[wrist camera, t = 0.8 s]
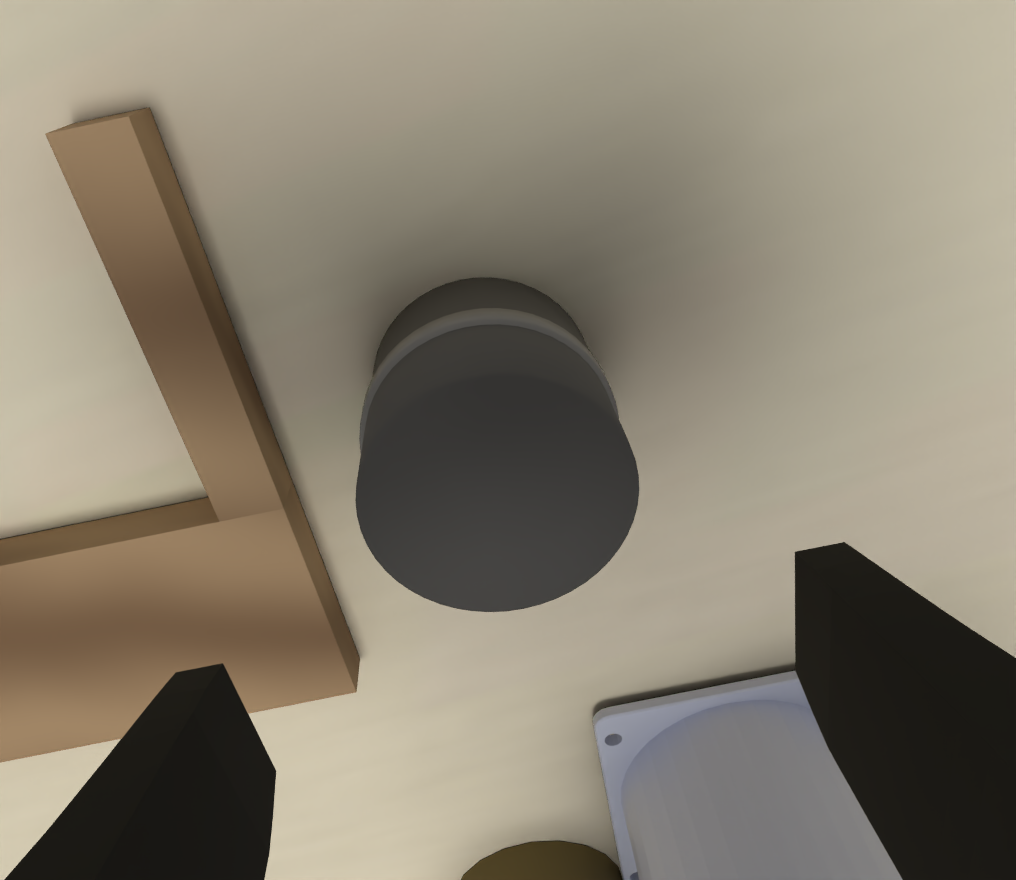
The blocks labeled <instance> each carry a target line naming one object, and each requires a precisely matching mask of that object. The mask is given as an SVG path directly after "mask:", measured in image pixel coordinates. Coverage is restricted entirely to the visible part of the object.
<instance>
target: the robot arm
mask: <svg viewBox="0 0 1016 880" xmlns="http://www.w3.org/2000/svg"><path fill="white" fill-rule="evenodd" d="M795 653H796V670H795V671H790V672H785V673H780V674H775V675H770V676H765V677H760V678H754V679H749V680H744V681H739V682H734V683H729V684H724V685H719V686H714V687H708V688H703V689H698V690H693V691H688V692H683V693H678V694H673V695H668V696H663V697H657V698H652V699H647V700H642V701H637V702H632V703H627V704H622V705H617V706H611V707H607V708H604V709H601V710H600V711H598V712H597V713H596V714H595V715H594V717H593V727H594V732H595V737H596V742H597V748H598V753H599V758H600V763H601V768H602V774H603V779H604V784H605V789H606V795H607V800H608V805H609V810H610V815H611V821H612V826H613V831H614V836H615V842H616V847H617V852H618V857H619V862H620V868H621V873H622V878H623V880H1016V658H1015V657H1013V656H1012V655H1010V654H1008V653H1007V652H1005V651H1004V650H1002V649H1001V648H999V647H998V646H996V645H995V644H993V643H991V642H990V641H988V640H987V639H985V638H984V637H982V636H981V635H979V634H978V633H976V632H974V631H973V630H971V629H970V628H968V627H967V626H965V625H964V624H962V623H961V622H959V621H958V620H956V619H955V618H953V617H952V616H950V615H949V614H947V613H946V612H944V611H943V610H942V609H940V608H939V607H937V606H936V605H934V604H933V603H931V602H930V601H928V600H927V599H926V598H924V597H923V596H921V595H920V594H918V593H917V592H915V591H914V590H912V589H911V588H910V587H908V586H907V585H905V584H904V583H902V582H901V581H900V580H898V579H897V578H895V577H894V576H892V575H891V574H889V573H888V572H887V571H885V570H884V569H882V568H881V567H879V566H878V565H877V564H875V563H874V562H872V561H871V560H869V559H868V558H866V557H865V556H864V555H862V554H861V553H859V552H858V551H856V550H855V549H853V548H852V547H851V546H849V545H848V544H846V543H845V542H843V543H838V544H833V545H828V546H823V547H817V548H812V549H807V550H802V551H797V552H795ZM610 734H613V735H610ZM275 779H276V770H275V768H274V766H273V764H272V762H271V760H270V758H269V756H268V754H267V752H266V750H265V747H264V745H263V743H262V741H261V739H260V737H259V735H258V733H257V731H256V729H255V727H254V725H253V723H252V721H251V719H250V717H249V715H248V713H247V711H246V709H245V707H244V705H243V703H242V701H241V699H240V697H239V695H238V693H237V690H236V688H235V686H234V684H233V682H232V680H231V678H230V676H229V674H228V672H227V670H226V668H225V666H224V664H223V663H221V664H216V665H211V666H206V667H201V668H196V669H190V670H185V671H180V672H176V673H175V674H174V675H173V676H172V677H171V678H170V680H169V681H168V682H167V683H166V684H165V685H164V687H163V688H162V689H161V690H160V691H159V693H158V694H157V695H156V696H155V698H154V699H153V700H152V701H151V702H150V704H149V705H148V706H147V707H146V709H145V710H144V711H143V712H142V714H141V715H140V716H139V717H138V719H137V720H136V721H135V723H134V724H133V725H132V726H131V728H130V729H129V730H128V731H127V733H126V734H125V735H124V736H123V738H122V739H121V740H120V741H119V743H118V744H117V745H116V746H115V748H114V749H113V750H112V751H111V753H110V754H109V755H108V757H107V758H106V759H105V760H104V762H103V763H102V764H101V765H100V766H99V768H98V769H97V770H96V771H95V773H94V774H93V775H92V776H91V778H90V779H89V780H88V781H87V782H86V784H85V785H84V786H83V787H82V789H81V790H80V791H79V792H78V794H77V795H76V796H75V797H74V798H73V800H72V801H71V802H70V803H69V805H68V806H67V807H66V808H65V810H64V811H63V812H62V813H61V814H60V816H59V817H58V818H57V819H56V821H55V822H54V823H53V824H52V825H51V827H50V828H49V829H48V830H47V831H46V833H45V834H44V835H43V836H42V837H41V838H40V840H39V841H38V842H37V843H36V844H35V845H34V846H33V848H32V849H31V850H30V851H29V852H28V853H27V854H26V856H25V857H24V858H23V859H22V860H21V861H20V862H19V864H18V865H17V866H16V867H15V868H14V869H13V870H12V872H11V873H10V874H9V875H8V876H7V877H6V879H5V880H264V877H265V872H266V867H267V862H268V857H269V850H270V840H271V830H272V820H273V807H274V793H275Z"/></svg>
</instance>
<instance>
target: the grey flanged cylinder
mask: <svg viewBox="0 0 1016 880" xmlns="http://www.w3.org/2000/svg"><path fill="white" fill-rule="evenodd" d="M360 449H361V458H360V465H359V472H358V478H357V486H356V510H357V517H358V521H359V525H360V529H361V532H362V534H363V537H364V539H365V541H366V544H367V546H368V547H369V549H370V551H371V552H372V554H373V555H374V557H375V559H376V560H377V561H378V562H379V563H380V565H381V566H382V567H383V568H384V569H385V571H387V572H388V573H389V574H390V575H391V576H392V577H393V578H394V579H395V580H396V581H398V582H399V583H401V584H402V585H403V586H405V587H406V588H408V589H409V590H411V591H413V592H414V593H416V594H418V595H420V596H422V597H424V598H426V599H429V600H431V601H434V602H436V603H439V604H442V605H446V606H449V607H453V608H457V609H463V610H470V611H482V612H499V611H511V610H518V609H524V608H528V607H532V606H536V605H540V604H543V603H546V602H548V601H551V600H554V599H556V598H559V597H561V596H563V595H565V594H567V593H569V592H571V591H573V590H574V589H576V588H577V587H579V586H581V585H582V584H584V583H585V582H587V581H588V580H589V579H590V578H592V577H593V576H594V575H595V574H597V573H598V572H599V571H600V570H601V569H602V568H603V567H604V566H605V565H606V564H607V563H608V562H609V561H610V560H611V558H612V557H613V556H614V555H615V553H616V552H617V551H618V549H619V548H620V546H621V545H622V543H623V541H624V540H625V538H626V536H627V535H628V532H629V530H630V528H631V525H632V523H633V520H634V517H635V513H636V509H637V505H638V496H639V477H638V470H637V465H636V461H635V457H634V455H633V452H632V449H631V447H630V444H629V442H628V440H627V437H626V435H625V433H624V430H623V428H622V426H621V424H620V421H619V416H618V411H617V406H616V401H615V399H614V396H613V393H612V391H611V388H610V386H609V383H608V381H607V379H606V377H605V374H604V373H603V371H602V369H601V367H600V365H599V364H598V362H597V360H596V359H595V358H594V356H593V355H592V354H591V352H590V351H589V350H588V348H587V346H586V343H585V341H584V339H583V337H582V335H581V333H580V331H579V329H578V328H577V326H576V324H575V323H574V321H573V320H572V319H571V317H570V316H569V315H568V314H567V313H566V312H565V311H564V310H563V309H562V308H561V307H560V306H559V305H558V304H557V303H556V302H555V301H553V300H552V299H551V298H549V297H548V296H547V295H545V294H543V293H541V292H539V291H538V290H536V289H534V288H532V287H529V286H526V285H524V284H521V283H518V282H514V281H510V280H506V279H498V278H471V279H464V280H459V281H455V282H451V283H448V284H445V285H442V286H440V287H437V288H435V289H433V290H431V291H429V292H427V293H425V294H424V295H422V296H420V297H419V298H417V299H416V300H415V301H413V302H412V303H411V304H410V305H408V306H407V307H406V308H405V309H404V310H403V311H402V312H401V313H400V314H399V315H398V316H397V317H396V319H395V320H394V321H393V323H392V324H391V325H390V327H389V328H388V330H387V332H386V334H385V335H384V337H383V339H382V341H381V344H380V347H379V349H378V352H377V356H376V360H375V365H374V371H373V378H372V380H371V382H370V385H369V388H368V390H367V393H366V397H365V401H364V406H363V411H362V417H361V423H360Z"/></svg>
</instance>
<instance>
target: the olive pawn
mask: <svg viewBox="0 0 1016 880" xmlns="http://www.w3.org/2000/svg"><path fill="white" fill-rule="evenodd" d="M461 880H623V879H622V876H621V873H620V870H619V868H618V866H617V865H616V864H615V863H613V862H612V861H611V860H610V859H609V858H608V857H607V856H606V855H605V854H603V853H601V852H599V851H596V850H594V849H592V848H590V847H588V846H585V845H580V844H574V843H568V842H562V841H548V842H530V843H526V844H522V845H518V846H514V847H510V848H506V849H503V850H501V851H499V852H497V853H495V854H493V855H491V856H489V857H486V858H484V859H482V860H481V861H479V862H478V863H477V864H476V865H475V866H474V867H472V868H471V869H470V870H469V871H468V872H467V873H465V874H464V876H463V877H462V879H461Z"/></svg>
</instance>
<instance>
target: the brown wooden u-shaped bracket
mask: <svg viewBox="0 0 1016 880" xmlns="http://www.w3.org/2000/svg"><path fill="white" fill-rule="evenodd" d="M46 137H47V139H48V141H49V143H50V146H51V148H52V150H53V152H54V154H55V157H56V159H57V161H58V163H59V166H60V168H61V170H62V172H63V174H64V177H65V179H66V181H67V183H68V186H69V188H70V190H71V192H72V195H73V197H74V199H75V201H76V203H77V206H78V208H79V210H80V212H81V215H82V217H83V219H84V221H85V223H86V226H87V228H88V230H89V232H90V235H91V237H92V239H93V241H94V243H95V246H96V248H97V250H98V252H99V255H100V257H101V259H102V261H103V264H104V266H105V268H106V270H107V272H108V275H109V277H110V279H111V281H112V284H113V286H114V288H115V290H116V292H117V295H118V297H119V299H120V301H121V304H122V306H123V308H124V310H125V312H126V315H127V317H128V319H129V321H130V324H131V326H132V328H133V330H134V332H135V335H136V337H137V339H138V341H139V344H140V346H141V348H142V350H143V353H144V355H145V357H146V359H147V361H148V364H149V366H150V368H151V370H152V373H153V375H154V377H155V379H156V381H157V384H158V386H159V388H160V390H161V393H162V395H163V397H164V399H165V401H166V404H167V406H168V408H169V410H170V413H171V415H172V417H173V419H174V421H175V424H176V426H177V428H178V430H179V433H180V435H181V437H182V439H183V442H184V444H185V446H186V448H187V450H188V453H189V455H190V457H191V459H192V462H193V464H194V466H195V468H196V470H197V473H198V475H199V477H200V479H201V482H202V484H203V486H204V488H205V490H206V493H207V495H208V497H209V498H204V499H199V500H194V501H189V502H184V503H179V504H174V505H169V506H164V507H159V508H154V509H149V510H144V511H140V512H135V513H130V514H125V515H120V516H115V517H110V518H105V519H100V520H95V521H90V522H85V523H80V524H75V525H70V526H66V527H61V528H56V529H51V530H46V531H41V532H36V533H31V534H26V535H21V536H16V537H11V538H6V539H1V540H0V762H5V761H10V760H15V759H20V758H25V757H30V756H35V755H40V754H45V753H50V752H55V751H61V750H66V749H71V748H76V747H81V746H86V745H91V744H96V743H101V742H106V741H111V740H116V739H121V738H123V736H124V735H125V734H126V733H127V731H128V730H129V729H130V728H131V726H132V725H133V724H134V723H135V721H136V720H137V719H138V717H139V716H140V715H141V714H142V712H143V711H144V710H145V709H146V707H147V706H148V705H149V704H150V702H151V701H152V700H153V699H154V698H155V696H156V695H157V694H158V693H159V691H160V690H161V689H162V688H163V687H164V685H165V684H166V683H167V682H168V681H169V680H170V678H171V677H172V676H173V675H174V674H175V673H176V672H180V671H185V670H190V669H196V668H201V667H206V666H211V665H216V664H221V663H223V664H224V666H225V668H226V670H227V672H228V674H229V676H230V678H231V680H232V682H233V684H234V686H235V688H236V690H237V693H238V695H239V697H240V699H241V701H242V703H243V705H244V707H245V709H246V711H247V713H253V712H258V711H263V710H268V709H273V708H278V707H283V706H288V705H294V704H299V703H304V702H309V701H314V700H319V699H324V698H329V697H334V696H339V695H344V694H349V693H354V692H356V691H357V682H358V672H359V663H360V658H359V655H358V653H357V650H356V648H355V645H354V642H353V640H352V637H351V634H350V632H349V629H348V627H347V624H346V621H345V619H344V616H343V614H342V611H341V608H340V606H339V603H338V600H337V598H336V595H335V593H334V590H333V587H332V585H331V582H330V579H329V577H328V574H327V572H326V569H325V566H324V564H323V561H322V559H321V556H320V553H319V551H318V548H317V545H316V543H315V540H314V538H313V535H312V532H311V530H310V527H309V524H308V522H307V519H306V517H305V514H304V511H303V509H302V506H301V503H300V501H299V498H298V496H297V493H296V490H295V488H294V485H293V483H292V480H291V477H290V475H289V472H288V469H287V467H286V464H285V462H284V459H283V456H282V454H281V451H280V448H279V446H278V443H277V441H276V438H275V435H274V433H273V430H272V427H271V425H270V422H269V420H268V417H267V414H266V412H265V409H264V407H263V404H262V401H261V399H260V396H259V393H258V391H257V388H256V386H255V383H254V380H253V378H252V375H251V372H250V370H249V367H248V365H247V362H246V359H245V357H244V354H243V352H242V349H241V346H240V344H239V341H238V338H237V336H236V333H235V331H234V328H233V325H232V323H231V320H230V317H229V315H228V312H227V310H226V307H225V304H224V302H223V299H222V296H221V294H220V291H219V289H218V286H217V283H216V281H215V278H214V276H213V273H212V270H211V268H210V265H209V262H208V260H207V257H206V255H205V252H204V249H203V247H202V244H201V241H200V239H199V236H198V234H197V231H196V228H195V226H194V223H193V220H192V218H191V215H190V213H189V210H188V207H187V205H186V202H185V200H184V197H183V194H182V192H181V189H180V186H179V184H178V181H177V179H176V176H175V173H174V171H173V168H172V165H171V163H170V160H169V158H168V155H167V152H166V150H165V147H164V144H163V142H162V139H161V137H160V134H159V131H158V129H157V126H156V124H155V121H154V118H153V116H152V113H151V110H150V108H145V109H140V110H135V111H130V112H126V113H121V114H116V115H112V116H107V117H102V118H97V119H93V120H88V121H83V122H79V123H74V124H70V125H68V126H65V127H62V128H60V129H57V130H54V131H52V132H49V133H46Z"/></svg>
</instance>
